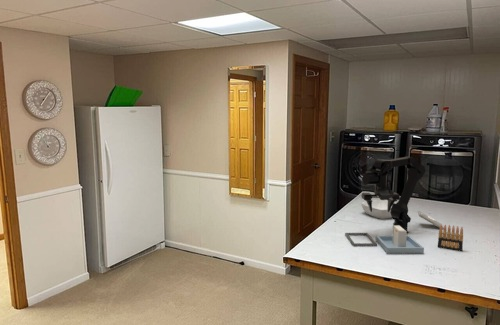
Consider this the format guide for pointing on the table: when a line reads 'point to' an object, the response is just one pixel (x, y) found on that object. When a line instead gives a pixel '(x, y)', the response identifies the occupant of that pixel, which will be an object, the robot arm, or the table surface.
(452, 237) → the ammunition clip
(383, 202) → the white bowl
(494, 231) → the table surface
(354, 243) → the holder frame
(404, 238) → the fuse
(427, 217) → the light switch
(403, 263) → the table surface
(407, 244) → the tray
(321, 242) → the table surface
